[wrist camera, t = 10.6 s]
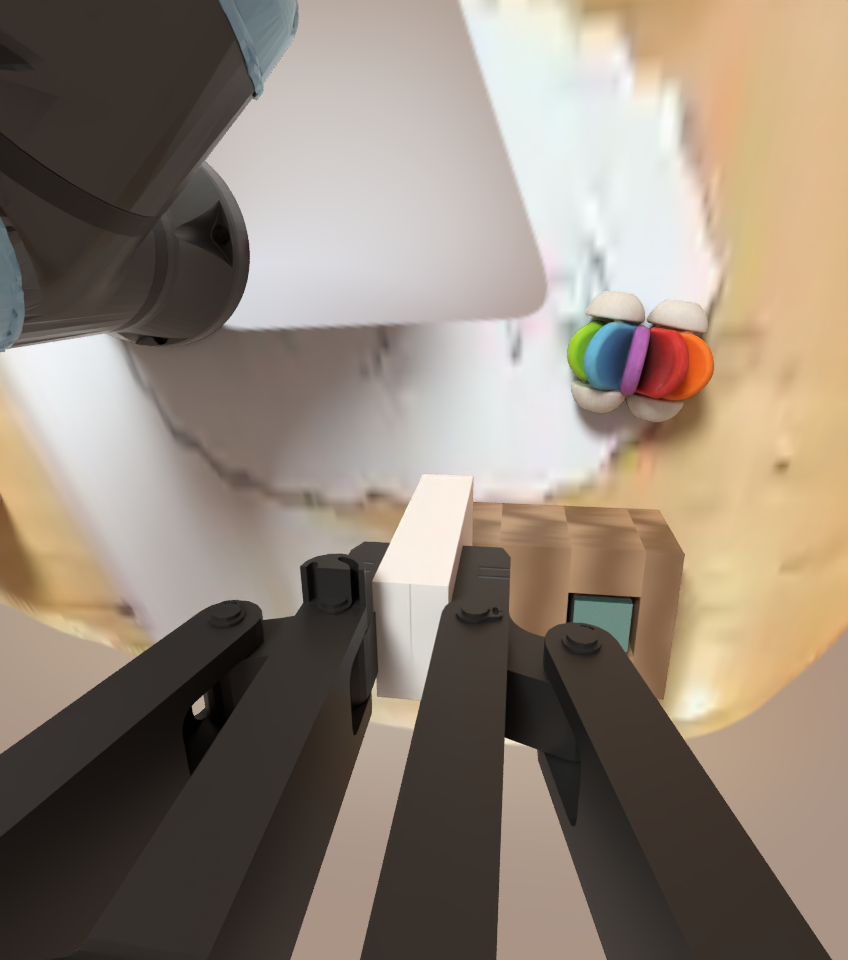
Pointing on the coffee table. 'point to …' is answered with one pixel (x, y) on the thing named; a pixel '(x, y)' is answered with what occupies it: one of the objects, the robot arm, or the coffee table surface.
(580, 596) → the peg
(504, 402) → the coffee table surface
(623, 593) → the socket block
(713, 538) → the coffee table surface
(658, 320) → the rainbow disc car
